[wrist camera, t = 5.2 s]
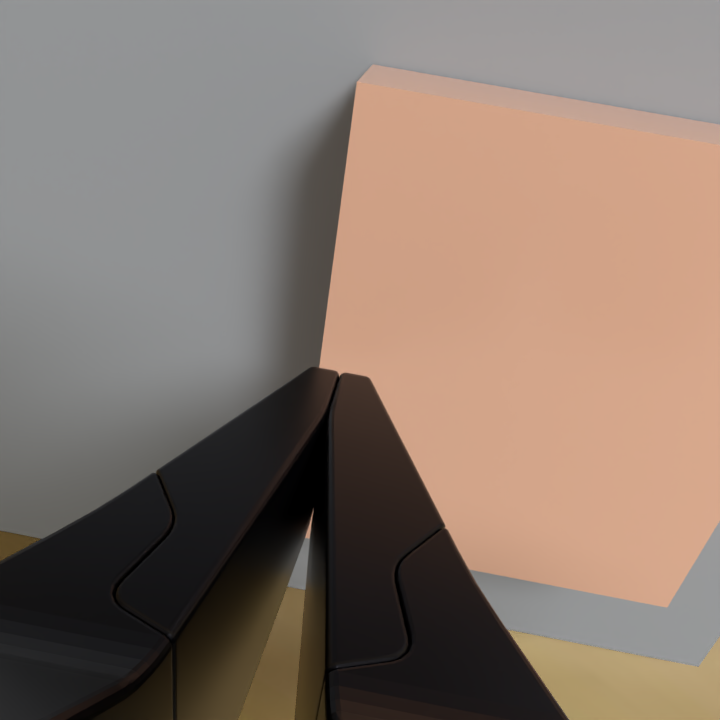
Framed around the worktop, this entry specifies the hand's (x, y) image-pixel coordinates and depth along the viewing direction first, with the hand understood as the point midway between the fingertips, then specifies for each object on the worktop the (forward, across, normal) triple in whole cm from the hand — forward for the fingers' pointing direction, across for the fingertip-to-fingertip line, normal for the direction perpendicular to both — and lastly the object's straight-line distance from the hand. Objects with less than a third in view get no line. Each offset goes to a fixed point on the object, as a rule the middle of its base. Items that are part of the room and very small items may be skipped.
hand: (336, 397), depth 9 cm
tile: (+2, 0, 0) cm, 2 cm away
